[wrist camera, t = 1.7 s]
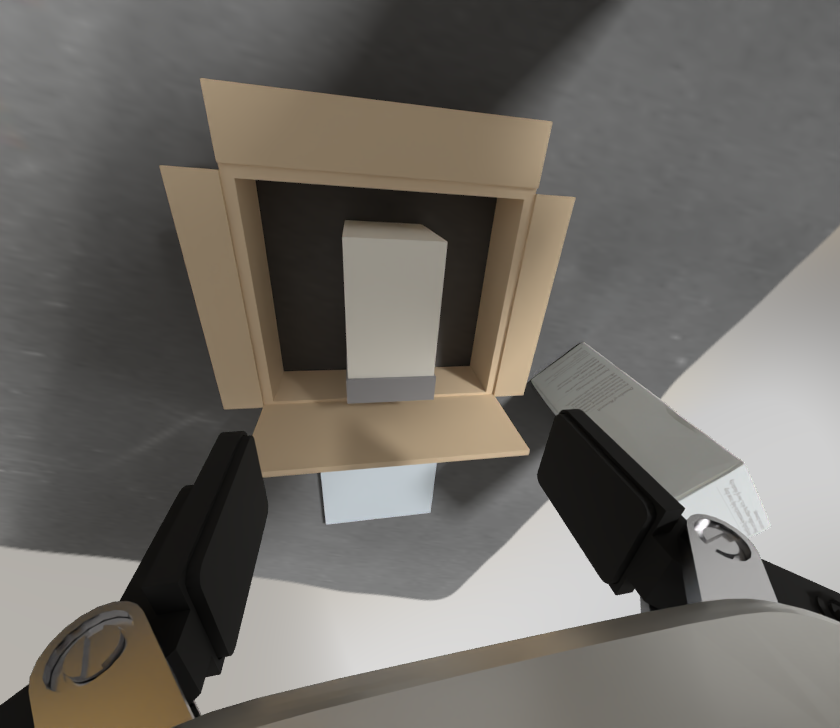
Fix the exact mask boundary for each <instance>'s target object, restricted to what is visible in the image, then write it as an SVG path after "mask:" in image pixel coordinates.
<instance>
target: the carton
mask: <svg viewBox="0 0 840 728" xmlns="http://www.w3.org/2000/svg"><path fill="white" fill-rule="evenodd" d="M200 82H201V87H202V92H203V97H204V102H205V107H206V113H207V118H208V123H209V128H210V133H211V138H212V144H213V149H214V154H215V159H216V162H218V167H219V170H216V169H203V168H190V167H177V166H164V165H159V167H160V171H161V174H162V178H163V182H164V186H165V189H166V193H167V197H168V201H169V204H170V208H171V212H172V216H173V220H174V223H175V227H176V231H177V235H178V238H179V242H180V246H181V250H182V253H183V257H184V261H185V265H186V268H187V272H188V276H189V280H190V283H191V287H192V291H193V295H194V299H195V302H196V306H197V310H198V314H199V317H200V321H201V325H202V329H203V332H204V336H205V340H206V344H207V347H208V351H209V355H210V359H211V362H212V366H213V370H214V374H215V378H216V381H217V385H218V389H219V393H220V396H221V400H222V404H223V408H224V410H225V409H245V408H263V409H262V412H261V414H260V417H259V419H258V422H257V425H256V427H255V430H254V433H253V435H252V436H253V437H254V440H255V444H256V449H257V454H258V458H259V463H260V468H261V472H262V477H275V476H287V475H299V474H310V473H322V472H334V471H346V470H357V469H369V468H381V467H393V466H404V465H416V464H428V463H440V462H451V461H463V460H475V459H487V458H498V457H510V456H522V455H528V454H529V451H530V449H529V448H528V446H527V445H526V443H525V442H524V440H523V439H522V437H521V436H520V434H519V433H518V431H517V430H516V428H515V427H514V425H513V423H512V422H511V420H510V419H509V417H508V416H507V414H506V413H505V411H504V410H503V408H502V407H501V405H500V404H499V402H498V401H497V399H496V398H495V397H496V396H517V395H524V391H525V387H526V383H527V379H528V376H529V372H530V368H531V364H532V360H533V357H534V353H535V349H536V345H537V342H538V338H539V334H540V330H541V326H542V323H543V319H544V315H545V311H546V307H547V304H548V300H549V296H550V292H551V288H552V285H553V281H554V277H555V273H556V270H557V266H558V262H559V258H560V254H561V251H562V247H563V243H564V239H565V235H566V232H567V228H568V224H569V220H570V217H571V213H572V209H573V205H574V201H575V198H576V197H565V196H552V195H539V194H535V193H536V189H537V188H539V183H540V178H541V174H542V169H543V164H544V159H545V155H546V150H547V145H548V141H549V136H550V131H551V127H552V122H551V121H543V120H535V119H527V118H519V117H511V116H503V115H494V114H486V113H478V112H470V111H462V110H454V109H446V108H438V107H430V106H422V105H414V104H406V103H398V102H390V101H382V100H373V99H365V98H357V97H349V96H341V95H333V94H325V93H317V92H309V91H301V90H293V89H285V88H277V87H269V86H261V85H252V84H244V83H236V82H228V81H220V80H212V79H204V78H200ZM255 180H266V181H280V182H294V183H307V184H321V185H334V186H348V187H362V188H375V189H389V190H402V191H416V192H430V193H443V194H457V195H470V196H484V197H497V202H496V208H495V214H494V220H493V226H492V232H491V238H490V245H489V251H488V257H487V263H486V269H485V275H484V282H483V288H482V294H481V300H480V306H479V312H478V319H477V325H476V331H475V337H474V343H473V349H472V356H471V362H470V366H455V367H435V368H434V374H435V376H436V383H435V392H434V400H417V401H396V402H375V403H354V404H347V388H346V370H316V371H284V369H283V363H282V356H281V349H280V342H279V336H278V329H277V322H276V315H275V309H274V302H273V295H272V288H271V282H270V275H269V268H268V262H267V255H266V248H265V241H264V235H263V228H262V221H261V214H260V208H259V201H258V194H257V187H256V181H255Z"/></svg>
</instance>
